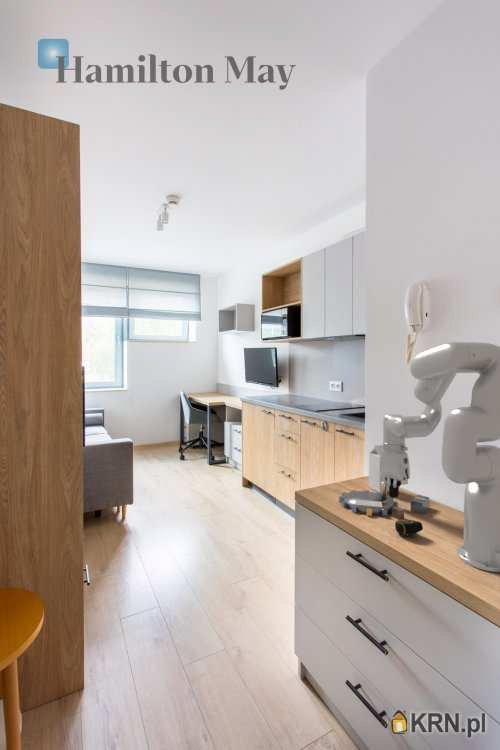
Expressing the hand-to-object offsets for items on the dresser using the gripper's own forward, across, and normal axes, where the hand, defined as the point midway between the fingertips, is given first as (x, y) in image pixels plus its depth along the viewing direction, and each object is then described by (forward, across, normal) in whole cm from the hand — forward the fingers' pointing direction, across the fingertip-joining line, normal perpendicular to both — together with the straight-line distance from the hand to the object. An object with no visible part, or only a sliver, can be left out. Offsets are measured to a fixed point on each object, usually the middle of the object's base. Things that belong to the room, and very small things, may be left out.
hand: (393, 496), depth 133 cm
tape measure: (+4, -18, +13) cm, 23 cm away
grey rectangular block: (+4, -7, -6) cm, 10 cm away
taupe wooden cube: (+4, -6, +7) cm, 10 cm away
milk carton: (+4, +15, -12) cm, 20 cm away
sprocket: (+4, +6, +7) cm, 10 cm away
